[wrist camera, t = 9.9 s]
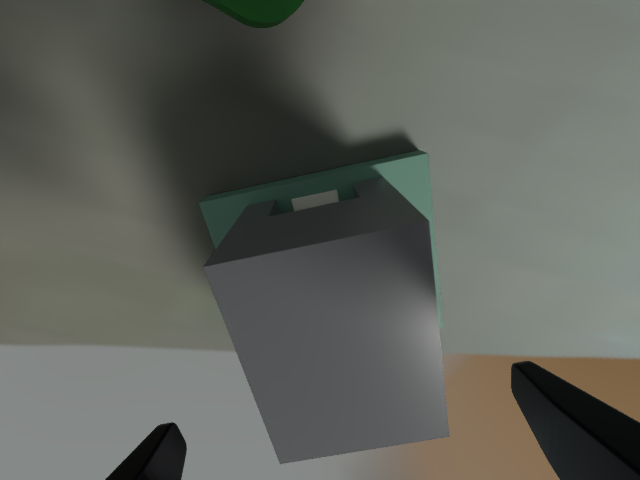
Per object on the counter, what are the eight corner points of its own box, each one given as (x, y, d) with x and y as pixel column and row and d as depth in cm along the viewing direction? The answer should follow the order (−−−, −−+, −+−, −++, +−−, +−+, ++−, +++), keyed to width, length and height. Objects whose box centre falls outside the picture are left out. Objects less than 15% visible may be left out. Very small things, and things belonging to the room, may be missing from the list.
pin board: (419, 150, 15) (446, 160, 12) (434, 314, 18) (458, 355, 15) (206, 196, 15) (180, 216, 12) (259, 346, 18) (249, 392, 16)
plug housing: (382, 176, 14) (428, 220, 8) (404, 327, 17) (449, 436, 11) (246, 205, 14) (203, 267, 9) (291, 348, 17) (280, 464, 12)
